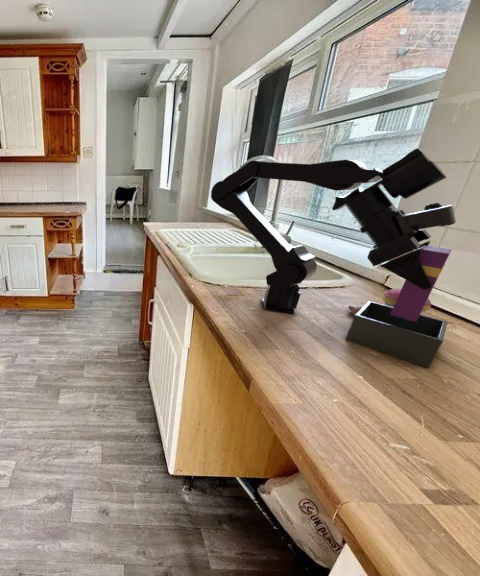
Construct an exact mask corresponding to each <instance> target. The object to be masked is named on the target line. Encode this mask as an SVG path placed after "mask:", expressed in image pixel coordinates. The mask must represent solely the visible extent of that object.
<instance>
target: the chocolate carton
mask: <svg viewBox="0 0 480 576" xmlns="http://www.w3.org/2000/svg"><path fill="white" fill-rule="evenodd" d="M423 247H424V248H423V250H422V253H421V255H420V257H419V260H420V262H421V264H422V266H423V268H424V270H425V273H426V275H427V277H428V279H429V281H430V283H431V285H432V287H431V288H428V289H425V290H424V289H422V288H420V287H418V286H416V285H415V284H413V283H411V282H409V281H408V280H406V279H404V283H403V285H402V286H401V288H400V289H401V291H400V294H399V296H398V298H397V300H396V302H395V305H394V307H393V309H392V311H391V314H390V315H393V316H396V317H400V318H403V319H407V320H410V321H413V322H416V321H417V319H418V317H419V315H422V313H421V311H422V309H423V307H424V305H425V303H426V301H427V299H428V298H429V297H430V295H431V293H432V292H433V289H434V287H435V285H436V283H437V281H438V279H439V277H440V275H441V273H442V271H443V270H444V268H445V266H446V263H447V260H448V259H449V257H450V254H451V253H452V250H453V249H451V248H444V247H438V246H433V245H428V246H426V245H424V246H423Z"/></svg>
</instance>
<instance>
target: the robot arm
mask: <svg viewBox="0 0 480 576" xmlns="http://www.w3.org/2000/svg"><path fill="white" fill-rule="evenodd" d="M259 179H267V180H279V181H292V182H303V183H308V184H311V185H314V186H317V187H321V188H324V189H329V190H332V191H336V192H337V191H350V190H351V192H349V193H347V194H346V195H344V196H342V195H337V196H335V198H334V203H333V205H332V208H331V209H332V211H339V210H341V209H343V208H344V207H346V209H347V210H348V211H349V212H350V214H351V216H353V218H354V219H355V220H356V222H357V223H358V225H359V226H360V228H359V230H360V232H361V234H364V233H365V235H367V237H368V238H369V239H370V240H371V242H372V243H373V244H374V245H372V248H373V249H370V250H369V251H368V255H367V260H368V262H370V264H371V265H372V266H373V267H376V266H378V265H379V267H381V268H383V269H384V270H387V271H389V272H392V273H393V274H395V275H397V276H398V277H400V278H402V279H404V280H408V281H409V282H411V283H413V284H415V285H416V286H418V287H420V288H422V289H424V290H425V289H428V288H431V287H432V285H431V283H430V281H429V279H428V277H427V275H426V273H425V270H424V268H423V266H422V264H421V262H420V260H419V257H420V255H421V253H422V250H423V248H424V247H423V246H424V245H426V246H430V243H431V240H429V239H430V238H432V236H431V235H430V234H429V232H428V231H427V230H426V229H430V228H435V227H448V226H451V225H456V223H457V221H456V215H455V211H454V206H453V204H449V205H445V206H443V205H442V204H441V203H440V202H434V203H433V202H432V203H428V204H426V205H425V206H424V209H423V210H422V211H417V212H413V213H408V214H407V213H406V211H405V210H403V209H401V208H400V209H399V208H398V209H397V207H396V206H395V205H394V204H393V202H392V201H391V200H390V198H389V197H388V196H387V195H386V193H385V192H384V190H383V189H381V186H382V187H383V188H384V189H385V191H386V192H387V194H388V195H390V196H391V197H392V198H393V199H397V198H399V197H402V198H403V199H404V200H407V199H408V198H411V197H412V196H414V195H416V194H418V193H420V192H422V191H424V190H426V189H428V188H430V187H432V186H434V185H436V184H437V183H440V182H441V181H443V180H445V179H447V175H446V174H445V173H444V171H443V170H442V169H441V168H440V167H439V165H438V164H437V163H436V162H435V161H433V160H431V159H430V158H429V157H428V156H427V155H426V154H425V153H424V152H423V150H421V148H418V147H417V148H414V149H413V150H411V151H410V152H408V153H406V155H404V156H403V157H402V158H401V159H399V160H397V161H396V162H394V163H392V164H390V165H388V166H387V167H386V168H384V169H382V170H381V168H375V167H374V168H372V169H370V168H368V167H367V166H366V165H365V164H364V163H363V162H361V161H359V160H353V159H339V160H329V161H324V162H317V163H292V162H291V163H289V162H272V161H271V162H269V161H263V160H255V159H254V160H249V161H248V162H246V163H245V164H244V165H243V166H241V168H239V169H237V170H236V171H234V172H233V173H231V174H230V175H228V176H226V177H225V178H224V179H222V180H219V181H218V182H216V183H215V184H213V186H212V188H211V191H210V198H211V201H212V202H214V203H215V204H216V205H217V206H219V208H221V209H223V210H225V211H227V212H229V213H231V214H233V216H235V218H237V220H238V221H239V222H240V223H241V224H242V225H243V226H244V227H245V229H246V230H247V231H248V232H249V233H250V234H251V235H252V236H253V237H254V238H255V239H256V241H257V242H258V244H260V246H261V247H262V248H264V250H265V251H266V252H267V253H268V254H269V256H270V257H271V262H272V264H273V267H274V269H275V271H273V272H271V273H269V274H267V275H266V276H265V279H266V285H267V286H266V290H265V292H264V293H265V294H264V297H262V298H261V301H262V304H263V306H264V309H266V310H270V311H275V312H281V313H286V314H296V311H295V310H296V309H297V307H298V304H299V301H300V298H301V295H302V294H301V293H300V290H301V288H300V286H299V285H300V284H302V283H303V281H305V280H308V279H309V278H311V277H313V276H314V275H315V274H316V271H317V267H318V264H317V262H316V260H314V259H316V256H315V255H313V254H311V252H309V250H308V249H307V248H306V247H305V245H304V244H299V245H295V246H294V245H292V244H290V243H289V242H288V241H287V240H286V239H285V238H284V237H283V236H282V235H281V234H280V233H279V232H278V231H277V230H276V229H275V227H274V226H273V225H272V224H271V223H270V222H269V221H268V220H267V219H266V218H265V217H264V216H263V215H262V214H261V213H260V212H259V211H258V210H257V208H256V207H254V204H252V202H251V201H250V200H251V199H250V197H249V194H248V192H247V191H248V190H250V189H251V188H252V187H253V186H254V184H255V183H256V182H257V181H259ZM370 183H374V184H372V185H370V186H368V187H366V188H365V189H364V188H362V187H360V186H361V185H362V184H370ZM423 241H425V242H423ZM420 242H423V243H420Z"/></svg>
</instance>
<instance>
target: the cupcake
mask: <svg viewBox="0 0 480 576" xmlns="http://www.w3.org/2000/svg"><path fill="white" fill-rule="evenodd" d="M401 289H402V288H392V289H388V290H386V291H384V292H383V293H382V295H381V299H382V302H384V305H386V306H390V307H394V305H395V302H396V300H397V298H398V296H399V294H400V291H401ZM432 305H433V304H432V301H431V299H430V298H429V297H428V299H427V301H426V303H425V305H424V307H423V309H422V311H421V314H423V313H425V312H428V311H430V310H431V306H432Z"/></svg>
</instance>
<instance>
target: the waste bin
mask: <svg viewBox="0 0 480 576" xmlns="http://www.w3.org/2000/svg"><path fill="white" fill-rule="evenodd" d="M362 307H363V308H362V309H361V310H360V311H359V312H358V313H357V314H356V315H354V317H353V319H352V322H351V324H350V327H349V329H348V332H347V335H346V337H345V340H347V341H350V342H352V343H356V344H358V345H361V346H364V347H367V348H369V349H372V350H375V351H378V352H381V353H383V354H387V355H390V356H392V357H395V358H399V359H402V360H404V361H407V362H410V363H413V364H415V365H419V366H422V367H424V368H427V369H429V368H430V366H431V364H432V363H433V360H434V359H435V357H436V356H437V354H438V351H439V350H440V348H441V346H442V344H443V343H444V338H445V335H446V331H447V327H448V321H446V320H443V319H439V318H434V317H431V316H427V315H423V314H420V315H419V317H418V319H417V321H416V322H413V321H410V320H407V319H403V318H400V317H396V316H393V315H390V314H391V311H392V309H393V307H390V306H386V305H385V304H382V303H379V302H375V301H371V300H368V301H367V302H366V303H365V305H363V306H362Z"/></svg>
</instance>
